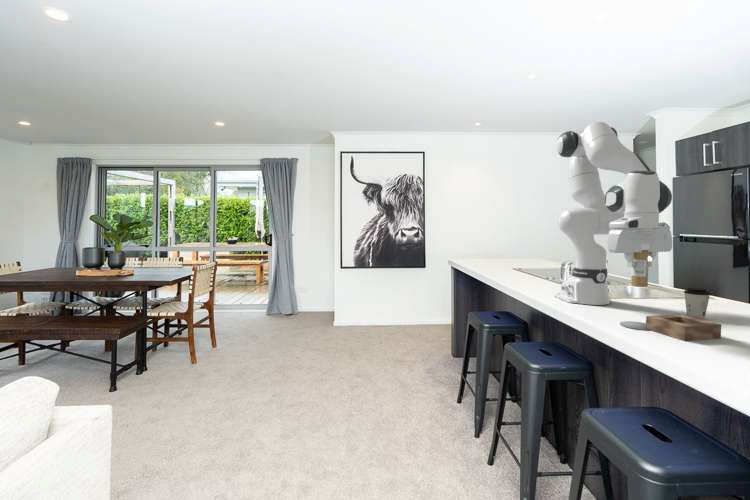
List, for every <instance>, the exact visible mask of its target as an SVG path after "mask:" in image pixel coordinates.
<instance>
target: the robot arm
mask: <svg viewBox="0 0 750 500" xmlns="http://www.w3.org/2000/svg"><path fill="white" fill-rule="evenodd" d="M556 150H557V153H558V155H559V156H560V157H561V158H570V160H569V161H568V180H569V181H568V182H569V186H570V192H571V196H572V199H573V200H574V201H575V202H577V203H578V204H581V205H582V206H583V207H582V208H581V207H579V208H578V207H577V208H572V209H571V208H570V209H566V210H564V211H562V212H561V214H560V215H559V217H558V227H559V229H560V230H561V232H562V233H564V235H566V236H567V237H568V238H569V240H570V241H571V243H572V246H573V248H574V257H575V258H574V259H575V260H574V263H575V266H574V267H573V268H572V269H571V272H572V274H571V276H570V277H569V278H567V279H566V280H564V281H563V282H562V283H561V285H560V292H557V293H554V295H553V297H555V298H557V299H559V300H563V301H565V302H567V303H570V304H582V305H593V306H600V305H601V306H604V305H610V304H611V298H610V297H609V296H610V295H609V285H608V281H607V278H608V269H607V253H608V252H609V253H613V254H623V255H624V259H625V260H626V262H627V264H626V266H627V267H628V268H631V267H636V262H635V261H634V260H633V258H632V256H634V253H637V252H641V251H642V250H641V245H642V244H649V251H648V268H650V267H652V266H653V260H654V259H655V257H656V254H657V253H663V252H664V253H665V252H667V253H668V252H671V250H672V249H673V236H672V231H671V227H670V226H669V224H668V223H667V222H660V221H659V220H660V214H661V213H662V212H663V211H665V210H666V209H667V208H669V206H670V205H671V203H672V201H673V194H672V191H671V189H670V188H669V187H668V186H667V185H666V184H665V182H662V181H661V180H660V178H659V175H658V173H657V172H656V171H653V170H651V169H650V168H649V166H648V165H647V164H646V163H645V161H644V160H643V158H641V157H640V156H639V154H637V153H635V152H634V151H632V150H630V149H629V148H627V147H626V146H625V145H624V144H623V143H622V142H621V140H620V139H619V137H618V132H617V130H616V129H615V128H614V127H611V126H610V125H609V124H607V123H606V122H604V121H595V122H592V123H590V124H589V125H588V126H586V127H585V128H583V129H582V128H581V129H577V130H569V131H568V130H567V131H566V132H562V133H561V134H560V136H558V138H557V142H556ZM599 169H600V170H606V171H613V172H617V173H622V174H624V175H626V177H625V178H624V179H623V181H620V182H619V183H618V184H615V185H612V186H611V187H610V188H608V190H607V191H606V193H604V190H603V186H602V183H601V179H600V174H599ZM595 235H599V236H600V235H601V236H602V235H604V236H605V235H607V243H606V244H607V249H606V248H605V247H604V246H602V245H601V244H599V243H597V241H596V240H595ZM607 250H608V252H607Z"/></svg>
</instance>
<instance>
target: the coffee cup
mask: <svg viewBox="0 0 750 500" xmlns="http://www.w3.org/2000/svg"><path fill="white" fill-rule="evenodd" d="M683 293H684V302H685V309H686V311H685V312H686V316H689V317H693V318H697V319H702V320H705V319H706V316H707V314H706V313H707V309H708V304H709V301H710V296H711V292H710V291H708V290H707V289H706V288H701V287H688V288H687V289H685V290H683Z"/></svg>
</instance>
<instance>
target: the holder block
mask: <svg viewBox="0 0 750 500" xmlns="http://www.w3.org/2000/svg"><path fill="white" fill-rule="evenodd" d="M645 323H646V328H649V329H650V330H649V331H652V332H654V333H656V334H661V335H665V336H667V337H671V338H673V339H677V340H679V341H684V342H687V341H701V340H714V339H715V340H717V339H722V323H718V322H714V321H709V320H705V319H697V318H693V317H689V316H687V315H684V314H681V313H679V314H677V313H676V314H675V313H674V314H661V315H660V314H659V315H646V316H645Z"/></svg>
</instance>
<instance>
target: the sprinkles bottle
mask: <svg viewBox="0 0 750 500" xmlns="http://www.w3.org/2000/svg"><path fill="white" fill-rule="evenodd" d="M641 250H642V251H641V252H637V253H634V256H632V258H633V260H634V261H635V262H636V267H630V270H631V271H630V275H631V277H630V280H631V281H630V286H632V287H636V288H637V287H638V288H646V287H649V281H648V280H649V267H648V251H649V244H642V245H641Z"/></svg>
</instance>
